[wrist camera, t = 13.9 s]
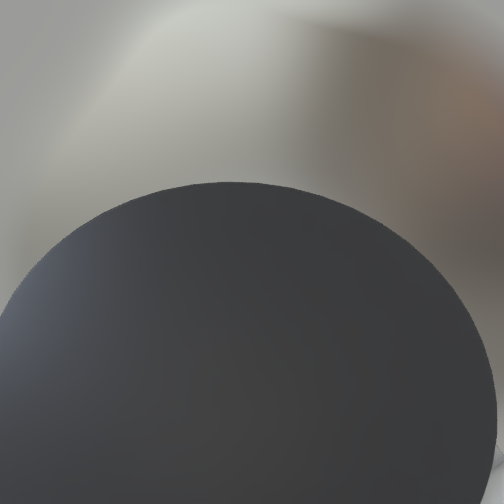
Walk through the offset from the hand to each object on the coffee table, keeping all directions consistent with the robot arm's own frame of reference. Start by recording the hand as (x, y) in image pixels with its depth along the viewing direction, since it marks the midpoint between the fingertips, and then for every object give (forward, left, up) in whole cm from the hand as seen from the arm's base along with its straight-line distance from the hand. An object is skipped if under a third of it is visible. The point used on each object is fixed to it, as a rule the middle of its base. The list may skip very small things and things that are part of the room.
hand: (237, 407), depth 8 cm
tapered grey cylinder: (0, 0, 0) cm, 1 cm away
